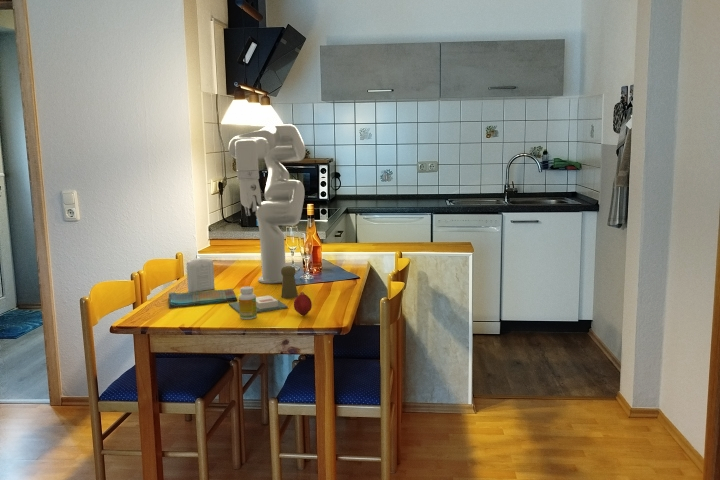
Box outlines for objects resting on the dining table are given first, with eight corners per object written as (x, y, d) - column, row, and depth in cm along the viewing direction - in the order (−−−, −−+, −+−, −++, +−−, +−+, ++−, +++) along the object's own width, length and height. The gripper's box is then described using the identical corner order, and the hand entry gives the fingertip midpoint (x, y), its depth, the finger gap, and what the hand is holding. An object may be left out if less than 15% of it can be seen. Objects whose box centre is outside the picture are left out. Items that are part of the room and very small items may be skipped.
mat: (273, 298, 240) (273, 296, 240) (287, 308, 227) (287, 306, 227) (229, 305, 233) (228, 303, 233) (241, 315, 220) (241, 313, 220)
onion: (294, 313, 220) (293, 289, 219) (312, 312, 220) (311, 288, 219) (294, 318, 214) (292, 294, 213) (312, 317, 215) (311, 293, 213)
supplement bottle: (256, 319, 215) (254, 289, 213) (239, 320, 215) (237, 290, 213) (257, 314, 220) (255, 285, 219) (240, 315, 220) (238, 286, 218)
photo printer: (212, 287, 261) (210, 255, 259) (216, 289, 258) (214, 257, 255) (186, 291, 256) (184, 259, 253) (190, 293, 252) (187, 260, 250)
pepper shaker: (300, 295, 244) (299, 265, 242) (293, 299, 239) (292, 268, 237) (285, 294, 246) (284, 264, 244) (278, 298, 241) (276, 268, 239)
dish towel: (168, 298, 248) (167, 291, 247) (232, 292, 254) (232, 285, 254) (168, 310, 232) (168, 303, 231) (237, 303, 238) (237, 296, 238)
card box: (269, 295, 235) (277, 300, 226) (269, 301, 235) (278, 306, 227) (251, 297, 232) (259, 303, 224) (251, 303, 232) (259, 309, 224)
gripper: (265, 175, 232) (269, 228, 236) (251, 172, 245) (255, 222, 249) (244, 177, 229) (248, 231, 233) (231, 174, 242) (235, 224, 246)
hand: (251, 226), depth 241 cm, fingers closed
